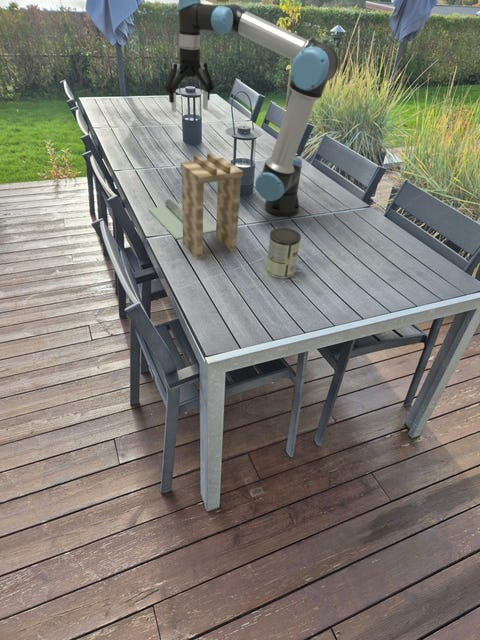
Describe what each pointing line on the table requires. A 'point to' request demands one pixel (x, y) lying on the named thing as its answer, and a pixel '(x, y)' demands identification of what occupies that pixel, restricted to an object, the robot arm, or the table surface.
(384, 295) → the table surface
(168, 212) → the sage mat
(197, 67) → the robot arm
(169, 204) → the steel rod
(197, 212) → the oak bridge
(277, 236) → the coffee can
